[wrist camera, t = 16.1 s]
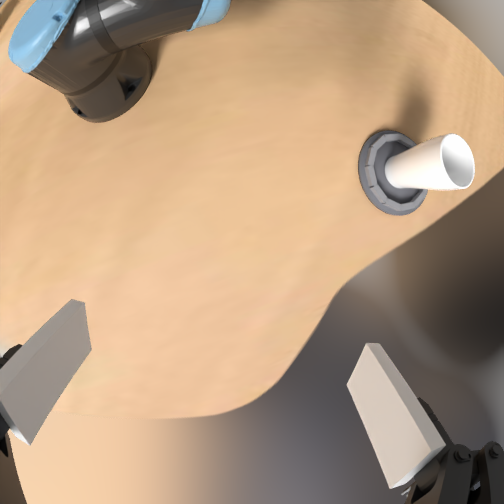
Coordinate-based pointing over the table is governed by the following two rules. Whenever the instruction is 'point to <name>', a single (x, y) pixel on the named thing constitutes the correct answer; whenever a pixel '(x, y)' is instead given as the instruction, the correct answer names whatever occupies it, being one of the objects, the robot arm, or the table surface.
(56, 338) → the robot arm
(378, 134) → the coaster
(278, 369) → the table surface
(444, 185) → the drinking glass
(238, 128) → the table surface
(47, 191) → the table surface
